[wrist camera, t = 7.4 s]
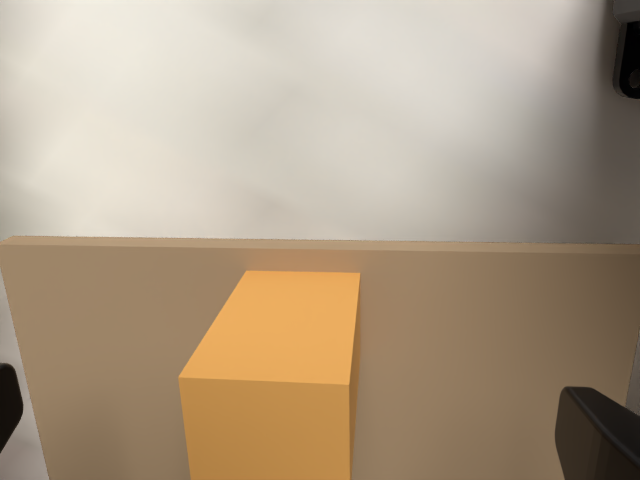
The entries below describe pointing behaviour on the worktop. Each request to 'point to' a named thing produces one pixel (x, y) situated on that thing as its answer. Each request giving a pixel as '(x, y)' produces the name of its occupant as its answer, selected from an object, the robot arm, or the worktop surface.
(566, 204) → the worktop surface
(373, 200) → the worktop surface
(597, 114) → the worktop surface
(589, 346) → the lid
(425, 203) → the worktop surface
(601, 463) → the robot arm
